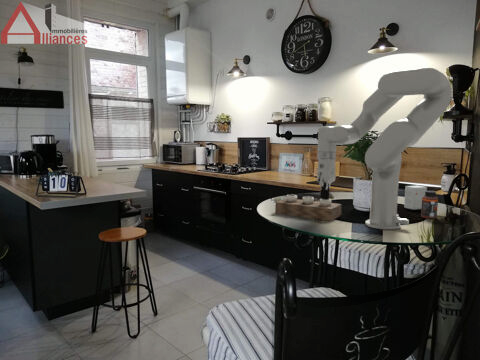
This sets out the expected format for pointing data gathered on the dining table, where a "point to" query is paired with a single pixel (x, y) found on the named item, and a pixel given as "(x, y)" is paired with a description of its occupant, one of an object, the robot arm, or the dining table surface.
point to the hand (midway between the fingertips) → (324, 198)
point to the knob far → (291, 198)
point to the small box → (414, 196)
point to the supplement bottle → (429, 205)
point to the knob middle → (308, 200)
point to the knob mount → (308, 209)
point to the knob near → (325, 202)
